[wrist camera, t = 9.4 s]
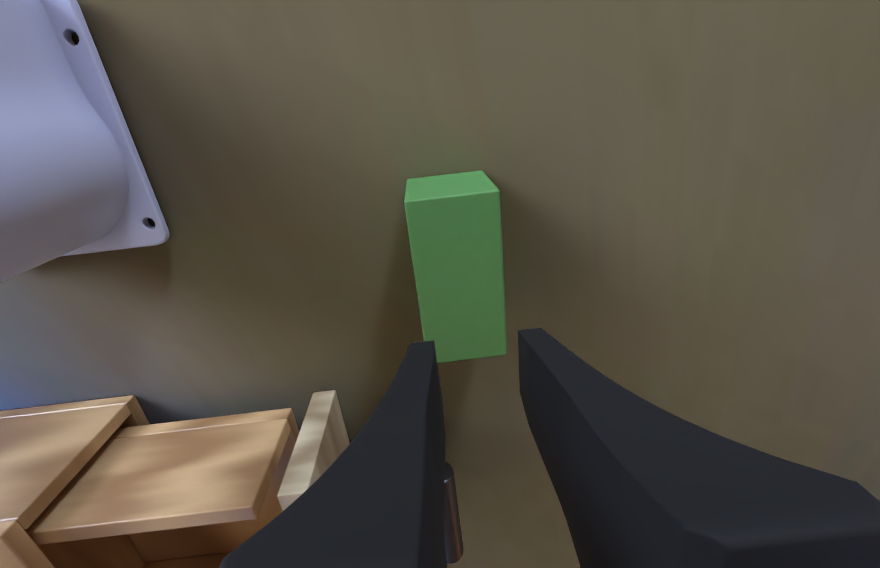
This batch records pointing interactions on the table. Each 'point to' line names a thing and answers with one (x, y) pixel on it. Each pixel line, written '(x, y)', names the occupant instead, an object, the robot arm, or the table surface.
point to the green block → (458, 263)
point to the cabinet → (49, 463)
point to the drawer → (198, 489)
